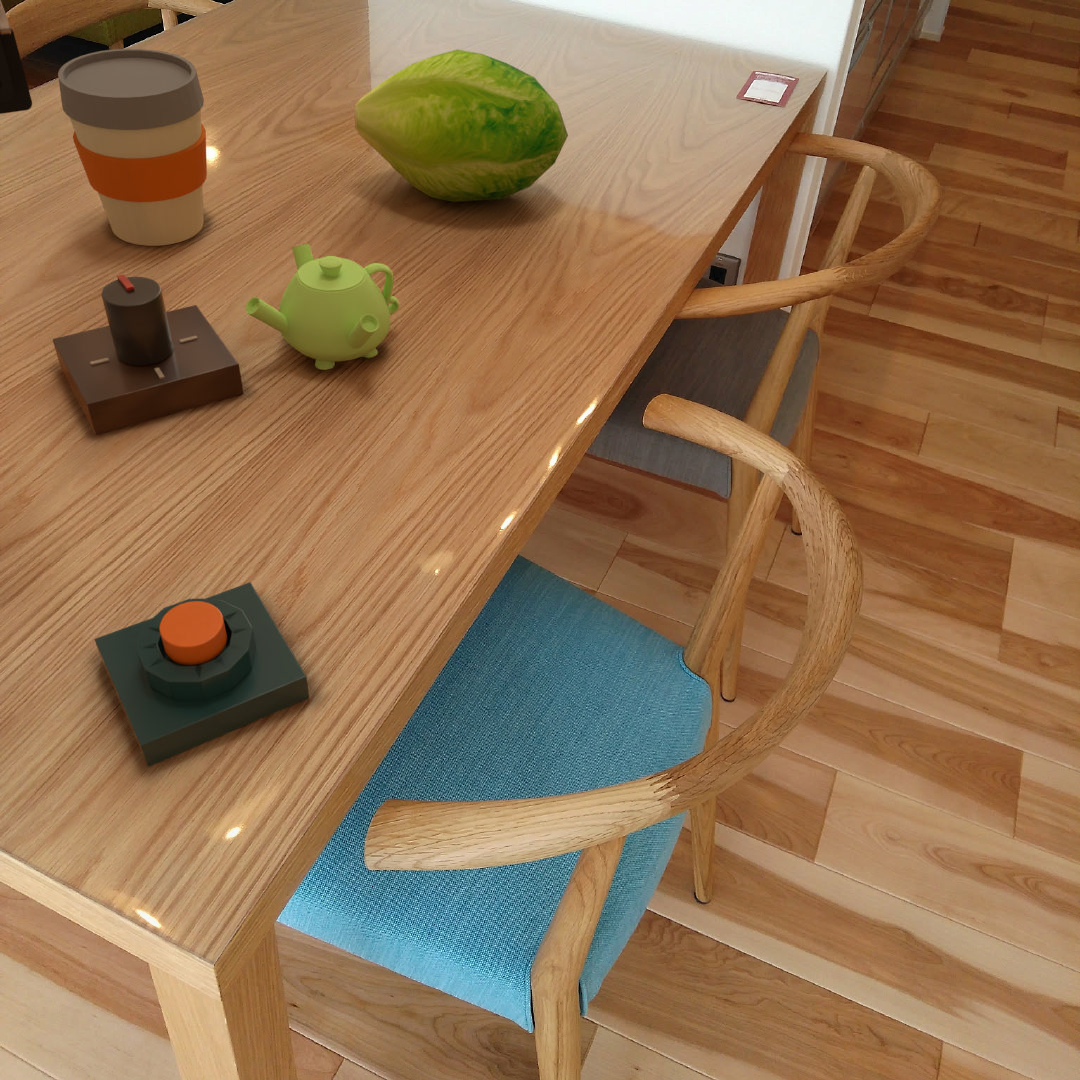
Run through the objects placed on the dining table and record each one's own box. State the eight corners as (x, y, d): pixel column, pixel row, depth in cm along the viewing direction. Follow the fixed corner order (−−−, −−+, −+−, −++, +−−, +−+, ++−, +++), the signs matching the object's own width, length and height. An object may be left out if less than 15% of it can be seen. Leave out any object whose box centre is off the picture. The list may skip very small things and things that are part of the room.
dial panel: (95, 435, 80) (86, 402, 77) (61, 369, 85) (51, 336, 83) (243, 393, 85) (238, 362, 83) (201, 334, 90) (196, 302, 88)
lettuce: (351, 214, 106) (363, 168, 119) (567, 224, 108) (556, 178, 121) (344, 63, 98) (358, 31, 110) (579, 77, 100) (567, 44, 112)
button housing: (148, 767, 59) (134, 727, 56) (102, 661, 64) (87, 619, 61) (309, 698, 63) (304, 657, 60) (254, 604, 68) (247, 562, 66)
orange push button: (176, 674, 59) (171, 655, 58) (156, 633, 61) (150, 614, 60) (236, 651, 61) (232, 632, 60) (214, 612, 63) (210, 592, 62)
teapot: (417, 325, 94) (416, 241, 88) (375, 395, 86) (372, 308, 80) (302, 303, 95) (293, 218, 89) (250, 370, 87) (237, 282, 81)
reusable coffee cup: (180, 265, 98) (150, 109, 88) (65, 238, 100) (24, 82, 90) (244, 210, 107) (224, 62, 97) (138, 186, 109) (107, 39, 99)
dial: (182, 356, 83) (169, 293, 79) (128, 372, 81) (112, 308, 77) (160, 330, 85) (147, 267, 81) (108, 345, 83) (91, 281, 79)
